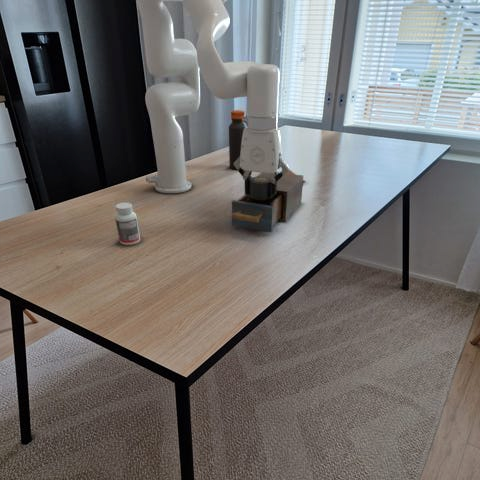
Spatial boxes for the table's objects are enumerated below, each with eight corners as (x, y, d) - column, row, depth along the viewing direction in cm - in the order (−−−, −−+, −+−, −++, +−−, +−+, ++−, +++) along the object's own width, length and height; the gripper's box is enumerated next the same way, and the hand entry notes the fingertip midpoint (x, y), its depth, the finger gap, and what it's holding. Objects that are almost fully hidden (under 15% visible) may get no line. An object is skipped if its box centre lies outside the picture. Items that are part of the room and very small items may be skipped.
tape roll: (249, 200, 109) (250, 183, 106) (248, 192, 114) (249, 176, 111) (272, 200, 109) (272, 183, 107) (270, 192, 114) (270, 176, 111)
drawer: (265, 239, 106) (265, 214, 102) (224, 232, 110) (224, 207, 106) (288, 213, 120) (289, 190, 116) (251, 207, 124) (252, 184, 120)
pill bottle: (121, 237, 110) (114, 201, 104) (141, 236, 110) (135, 201, 104) (118, 246, 105) (111, 209, 100) (139, 245, 106) (133, 208, 100)
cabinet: (285, 222, 117) (287, 191, 112) (244, 215, 122) (244, 185, 116) (301, 203, 129) (303, 175, 124) (263, 198, 133) (264, 170, 128)
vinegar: (227, 169, 159) (225, 112, 147) (232, 164, 164) (232, 109, 152) (243, 170, 157) (243, 113, 145) (248, 165, 162) (249, 110, 150)
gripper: (224, 123, 101) (226, 195, 111) (290, 129, 95) (286, 204, 106) (236, 118, 106) (237, 186, 117) (300, 123, 101) (294, 194, 111)
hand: (260, 194), depth 111 cm, fingers closed on tape roll, 6 cm apart
